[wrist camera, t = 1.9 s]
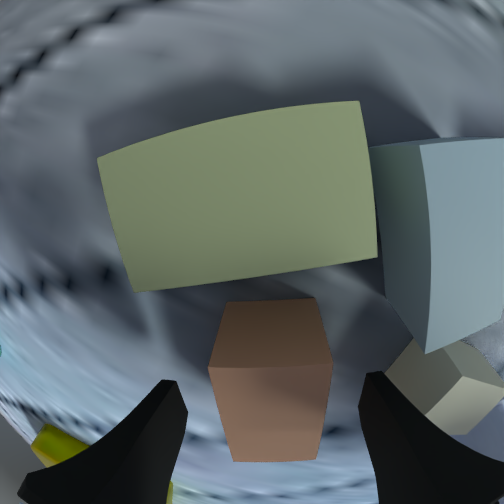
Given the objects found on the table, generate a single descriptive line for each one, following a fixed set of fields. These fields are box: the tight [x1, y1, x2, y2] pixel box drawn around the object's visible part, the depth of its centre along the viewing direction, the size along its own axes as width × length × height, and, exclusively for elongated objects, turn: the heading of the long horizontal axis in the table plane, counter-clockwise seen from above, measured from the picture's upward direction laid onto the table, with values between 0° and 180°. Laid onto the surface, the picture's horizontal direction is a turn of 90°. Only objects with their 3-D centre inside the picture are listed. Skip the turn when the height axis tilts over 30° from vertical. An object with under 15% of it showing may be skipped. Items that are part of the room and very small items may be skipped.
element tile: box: [31, 424, 173, 504], centre depth 18 cm, size 15×15×5 cm
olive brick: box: [97, 101, 377, 293], centre depth 8 cm, size 6×4×4 cm, turn 101°
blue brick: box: [368, 137, 504, 354], centre depth 8 cm, size 6×4×4 cm, turn 15°
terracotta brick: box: [208, 298, 333, 462], centre depth 10 cm, size 6×4×4 cm, turn 4°
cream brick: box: [384, 338, 504, 435], centre depth 10 cm, size 6×4×4 cm, turn 65°
